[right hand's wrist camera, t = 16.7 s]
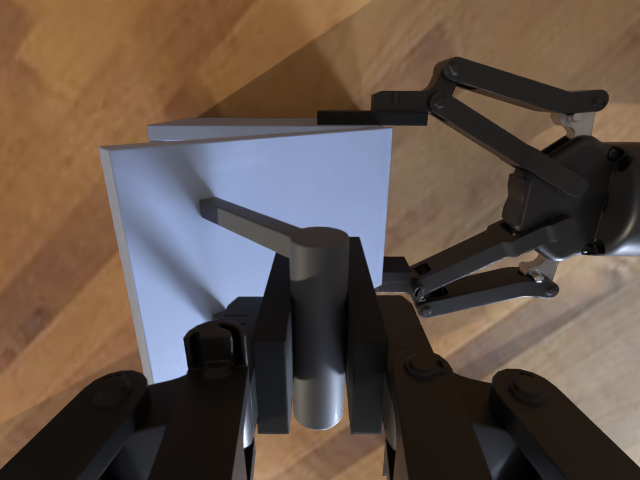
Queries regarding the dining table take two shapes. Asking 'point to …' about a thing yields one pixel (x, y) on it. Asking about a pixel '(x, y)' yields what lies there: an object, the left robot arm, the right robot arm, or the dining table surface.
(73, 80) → the dining table surface
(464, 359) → the dining table surface
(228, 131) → the chest
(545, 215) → the left robot arm
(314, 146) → the lid
